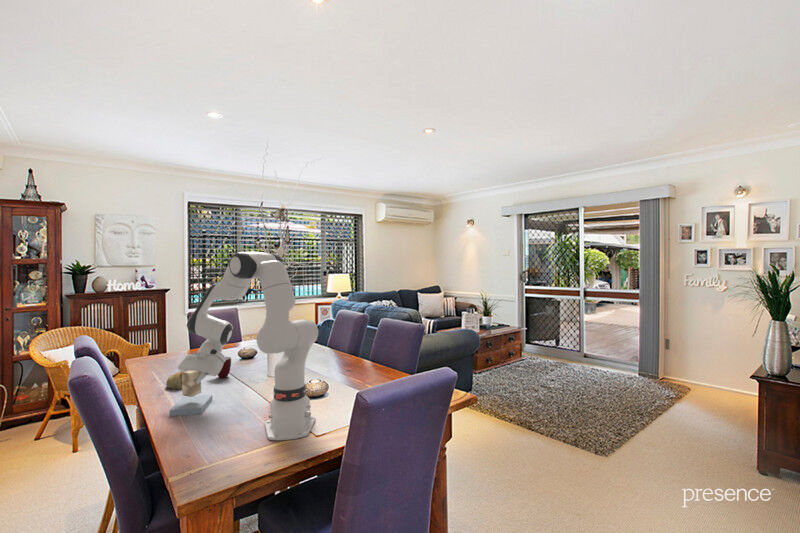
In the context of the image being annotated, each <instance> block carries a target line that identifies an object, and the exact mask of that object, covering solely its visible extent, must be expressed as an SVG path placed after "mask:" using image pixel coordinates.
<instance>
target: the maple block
mask: <svg viewBox="0 0 800 533" xmlns="http://www.w3.org/2000/svg"><path fill="white" fill-rule="evenodd" d="M200 374H201V372H199V371H198V370H187V371H184V372H182V389H181V390H182V397H187V396H189V397H192V396H198V395H199V394H202V380H201V381H200V383H199V384H196V383H194V380H195V379H196V378H198V377H199V376H200Z"/></svg>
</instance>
